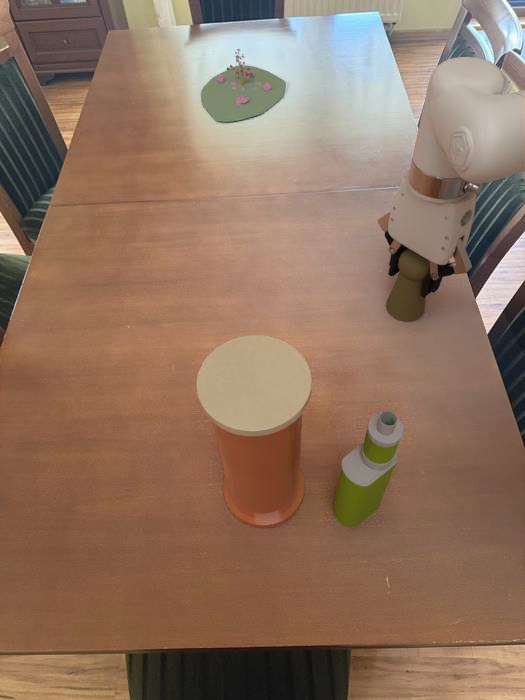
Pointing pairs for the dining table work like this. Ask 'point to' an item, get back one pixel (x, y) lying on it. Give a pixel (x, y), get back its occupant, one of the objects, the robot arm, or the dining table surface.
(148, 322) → the dining table surface
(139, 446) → the dining table surface
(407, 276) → the olive pawn
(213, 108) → the plant
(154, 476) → the dining table surface
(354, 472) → the vape
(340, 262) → the dining table surface
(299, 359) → the column
